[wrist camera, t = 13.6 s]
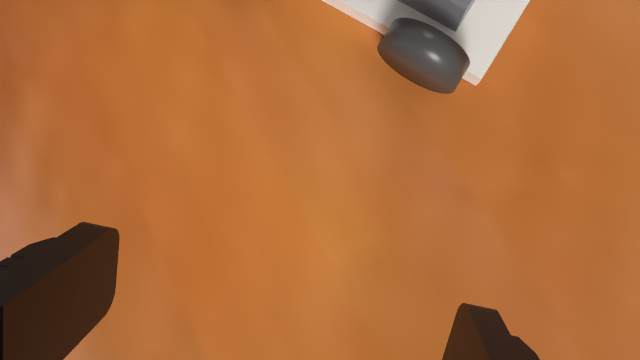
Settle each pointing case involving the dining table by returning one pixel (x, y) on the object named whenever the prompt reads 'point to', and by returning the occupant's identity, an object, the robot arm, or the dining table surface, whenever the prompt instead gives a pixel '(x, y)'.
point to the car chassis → (437, 36)
